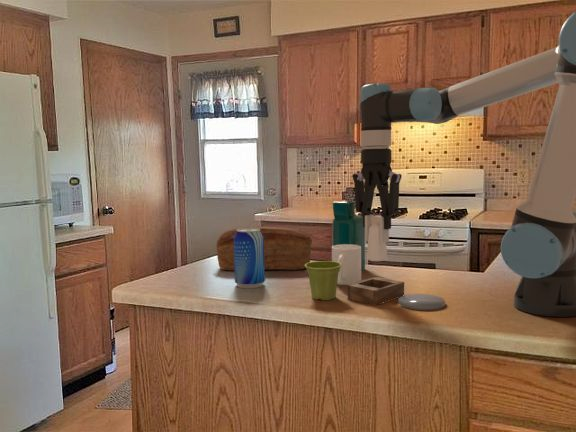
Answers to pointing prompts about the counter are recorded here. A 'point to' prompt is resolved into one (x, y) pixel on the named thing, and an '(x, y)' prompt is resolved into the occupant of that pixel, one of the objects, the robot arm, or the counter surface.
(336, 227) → the teal bottle
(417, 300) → the grey plate
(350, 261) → the mug
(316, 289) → the plant pot
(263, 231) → the bread
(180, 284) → the counter surface
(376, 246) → the salt shaker
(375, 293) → the pocket block
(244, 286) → the beer can
